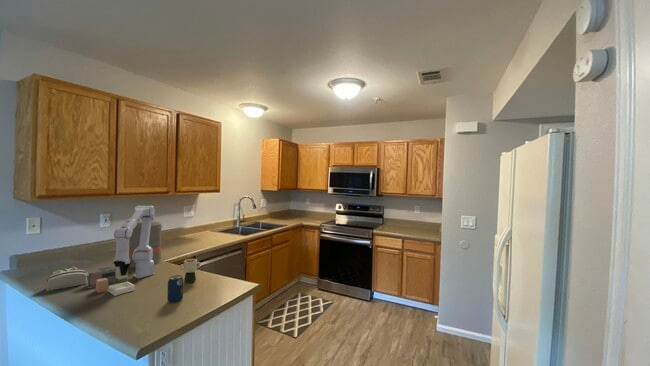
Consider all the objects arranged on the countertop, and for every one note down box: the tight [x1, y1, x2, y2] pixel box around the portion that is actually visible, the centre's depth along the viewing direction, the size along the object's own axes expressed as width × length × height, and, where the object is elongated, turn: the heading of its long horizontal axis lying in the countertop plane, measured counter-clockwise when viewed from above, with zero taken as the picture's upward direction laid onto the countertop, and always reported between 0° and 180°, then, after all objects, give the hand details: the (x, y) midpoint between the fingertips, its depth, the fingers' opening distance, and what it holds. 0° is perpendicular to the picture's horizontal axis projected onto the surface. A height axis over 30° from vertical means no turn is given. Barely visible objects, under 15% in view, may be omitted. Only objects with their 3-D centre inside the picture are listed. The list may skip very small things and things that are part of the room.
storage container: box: [129, 218, 163, 269], centre depth 194 cm, size 22×22×35 cm
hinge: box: [45, 269, 88, 292], centre depth 149 cm, size 17×5×10 cm, turn 136°
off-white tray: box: [107, 281, 136, 297], centre depth 146 cm, size 9×9×3 cm
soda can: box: [167, 274, 184, 304], centre depth 136 cm, size 7×7×12 cm
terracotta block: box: [95, 278, 109, 294], centre depth 145 cm, size 4×4×6 cm
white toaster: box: [52, 265, 89, 276], centre depth 163 cm, size 14×6×15 cm
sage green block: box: [116, 266, 129, 279], centre depth 147 cm, size 4×4×6 cm
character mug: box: [179, 258, 201, 284], centre depth 161 cm, size 11×7×13 cm, turn 123°
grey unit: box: [84, 265, 128, 289], centre depth 157 cm, size 18×6×8 cm, turn 147°
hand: (121, 274), depth 147 cm, fingers closed on sage green block, 4 cm apart
